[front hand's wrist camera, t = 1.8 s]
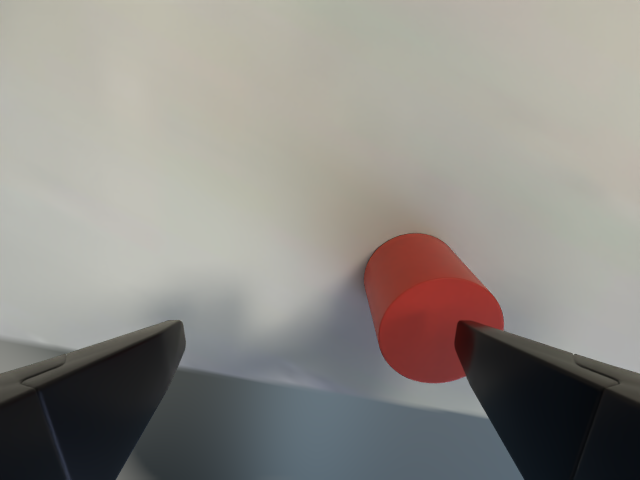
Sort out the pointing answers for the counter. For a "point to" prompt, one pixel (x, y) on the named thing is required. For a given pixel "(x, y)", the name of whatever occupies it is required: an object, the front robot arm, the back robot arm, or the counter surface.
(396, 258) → the canister
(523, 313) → the counter surface
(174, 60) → the counter surface
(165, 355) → the front robot arm
